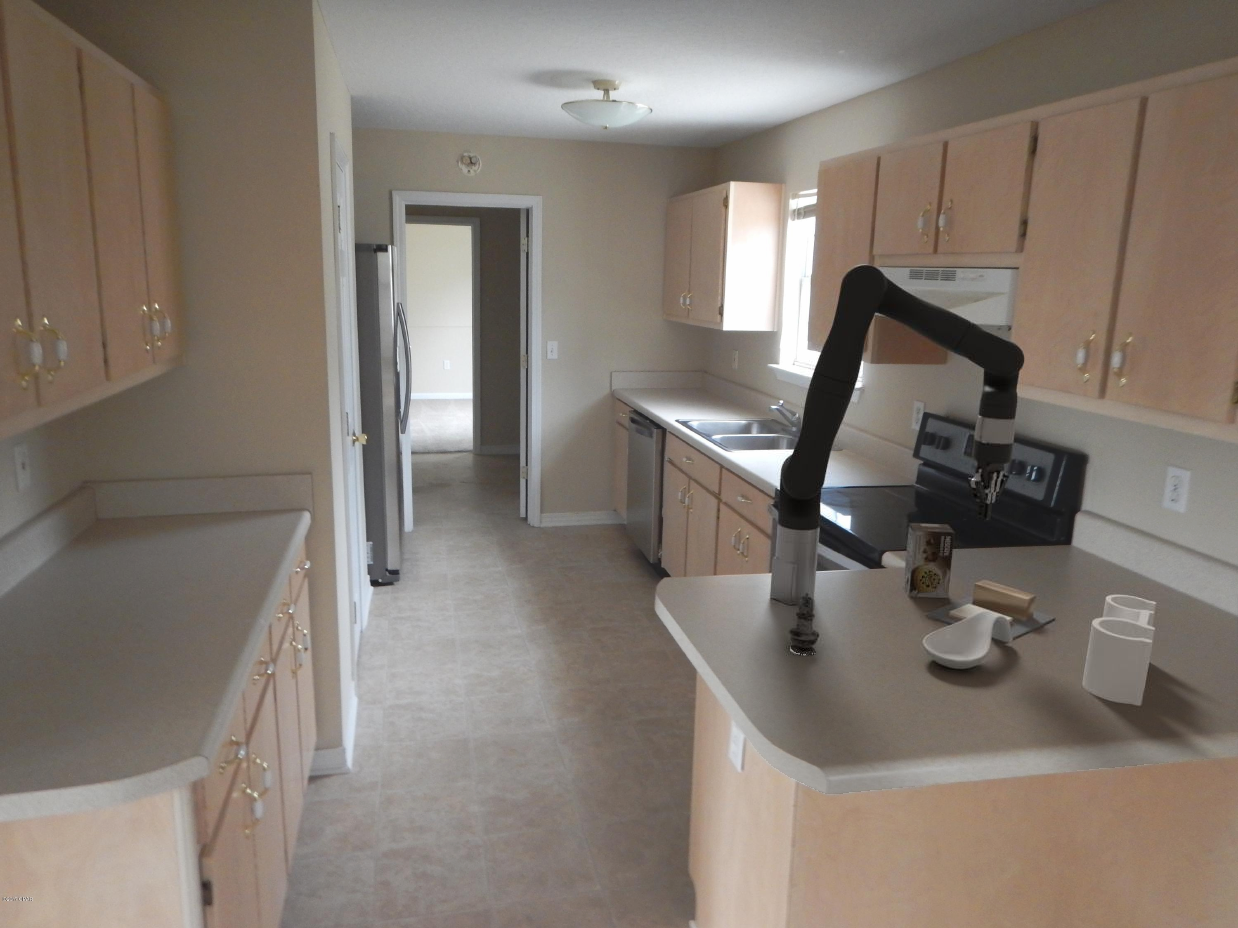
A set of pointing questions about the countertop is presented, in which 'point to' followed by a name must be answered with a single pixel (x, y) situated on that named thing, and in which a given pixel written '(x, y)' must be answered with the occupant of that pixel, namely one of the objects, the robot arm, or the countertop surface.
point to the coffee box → (928, 560)
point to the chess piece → (804, 628)
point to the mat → (1016, 625)
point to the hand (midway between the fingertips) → (983, 519)
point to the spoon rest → (967, 640)
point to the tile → (971, 612)
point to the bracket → (1120, 649)
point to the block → (1004, 600)
